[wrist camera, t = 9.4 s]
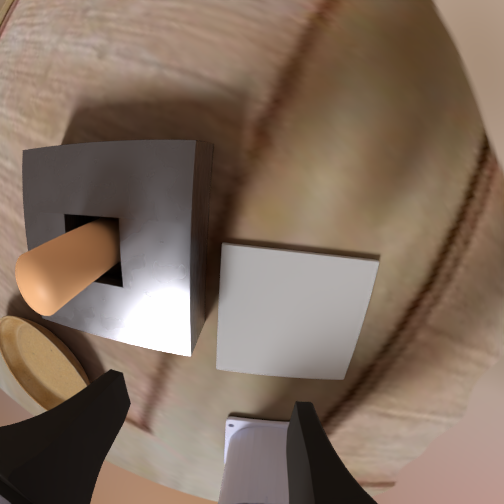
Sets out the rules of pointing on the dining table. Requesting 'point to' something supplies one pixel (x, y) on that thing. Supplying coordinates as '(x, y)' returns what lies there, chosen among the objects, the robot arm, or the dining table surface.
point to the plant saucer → (40, 362)
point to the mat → (290, 311)
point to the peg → (67, 264)
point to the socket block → (130, 233)
